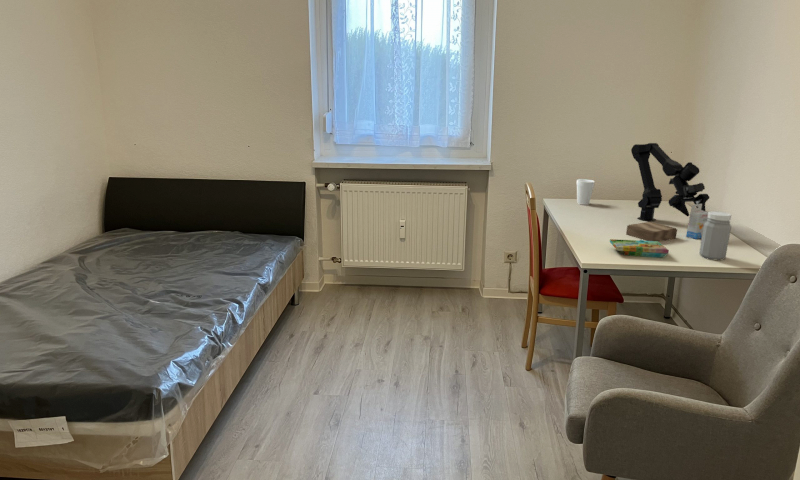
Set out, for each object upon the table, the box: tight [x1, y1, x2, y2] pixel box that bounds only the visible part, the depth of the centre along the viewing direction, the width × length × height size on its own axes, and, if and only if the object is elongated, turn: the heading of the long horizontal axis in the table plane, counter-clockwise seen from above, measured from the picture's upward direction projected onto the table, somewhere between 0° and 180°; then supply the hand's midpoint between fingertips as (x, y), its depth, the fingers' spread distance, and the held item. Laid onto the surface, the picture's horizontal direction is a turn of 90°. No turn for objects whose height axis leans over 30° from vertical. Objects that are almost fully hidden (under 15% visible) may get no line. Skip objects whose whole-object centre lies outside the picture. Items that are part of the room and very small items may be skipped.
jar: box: [699, 211, 732, 261], centre depth 243 cm, size 10×10×18 cm
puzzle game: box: [609, 238, 669, 258], centre depth 247 cm, size 12×5×20 cm
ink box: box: [685, 204, 709, 240], centre depth 273 cm, size 8×5×15 cm, turn 123°
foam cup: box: [576, 178, 596, 206], centre depth 335 cm, size 10×9×13 cm
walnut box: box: [625, 221, 678, 242], centre depth 273 cm, size 16×14×5 cm
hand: (696, 215), depth 275 cm, fingers open, 9 cm apart
